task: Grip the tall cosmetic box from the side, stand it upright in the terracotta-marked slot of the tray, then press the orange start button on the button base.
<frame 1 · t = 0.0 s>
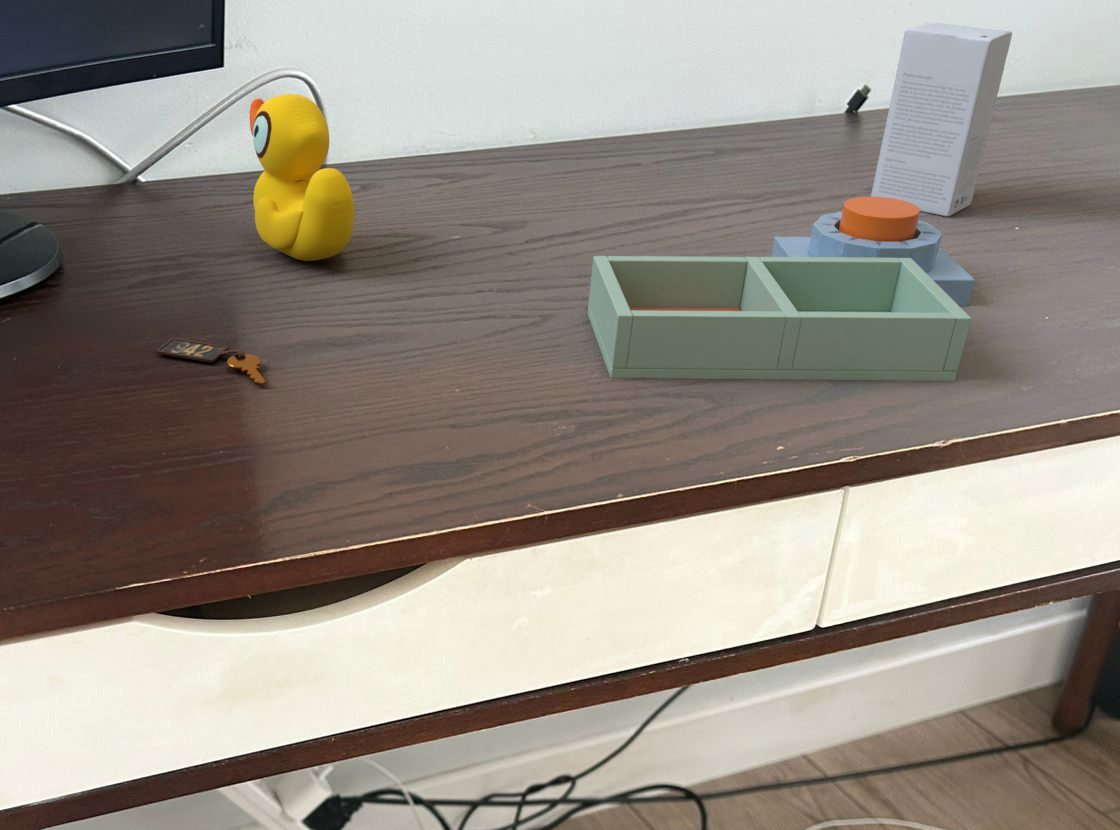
duckling: (299, 256, 91), on the table
start button: (878, 220, 84), point 4 cm above the table, slide at 0.1 cm
key tag: (211, 366, 76), on the table
button base: (865, 283, 86), on the table
cosmetic box: (918, 206, 100), on the table
tray: (760, 346, 78), on the table
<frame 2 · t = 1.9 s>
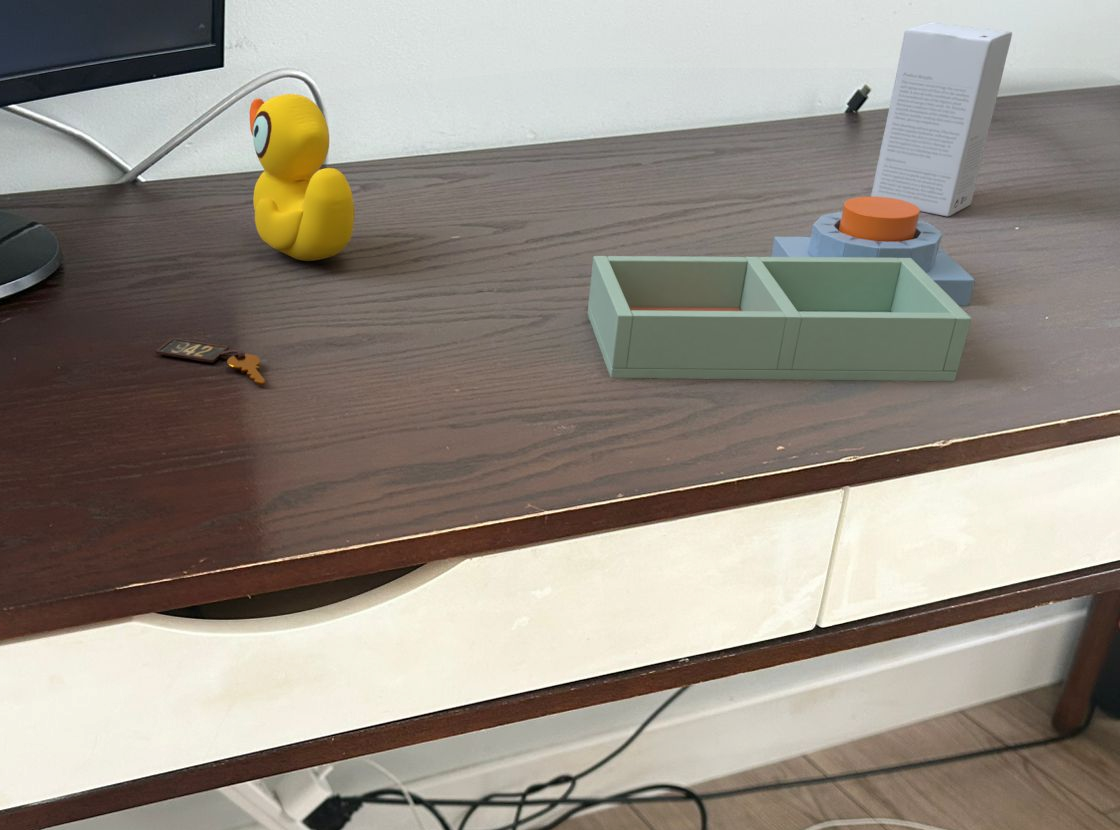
nothing on the table moved.
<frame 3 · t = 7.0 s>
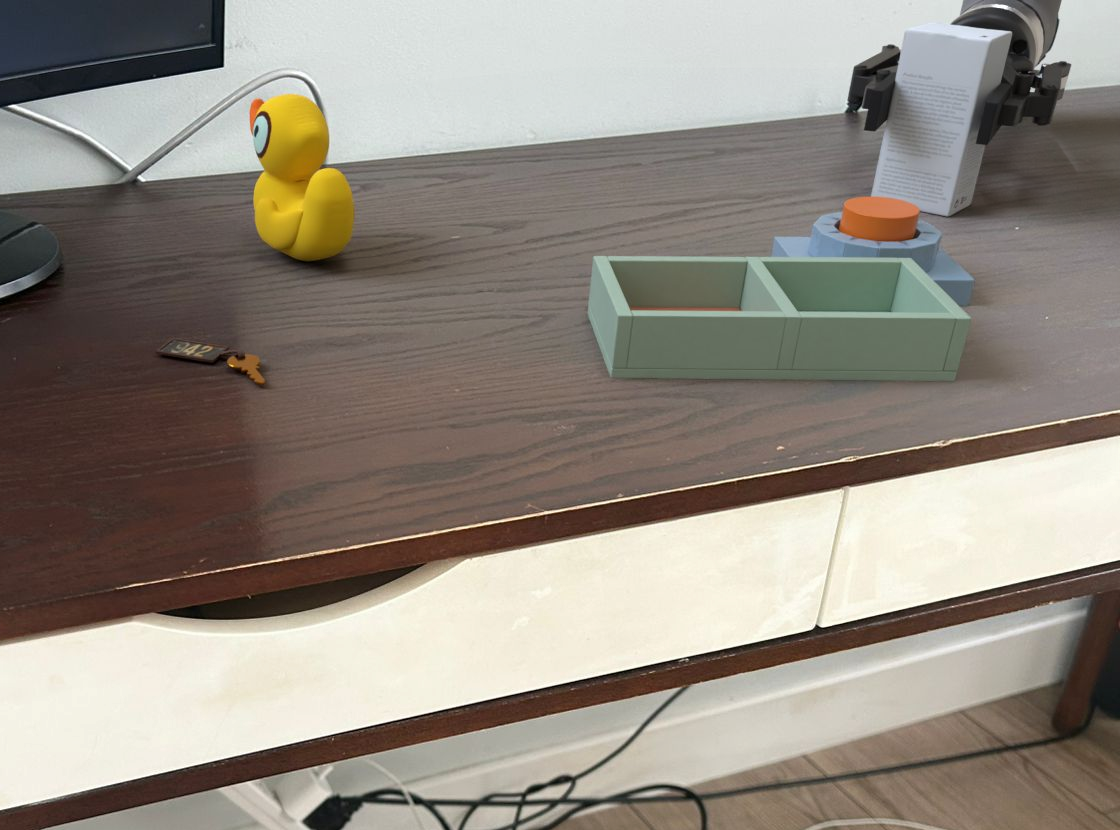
hand: (929, 117, 93), 7 cm above the table, tool horizontal, fingers closed on cosmetic box, 7 cm apart
cosmetic box: (918, 206, 100), on the table, touching gripper
everything else where it was.
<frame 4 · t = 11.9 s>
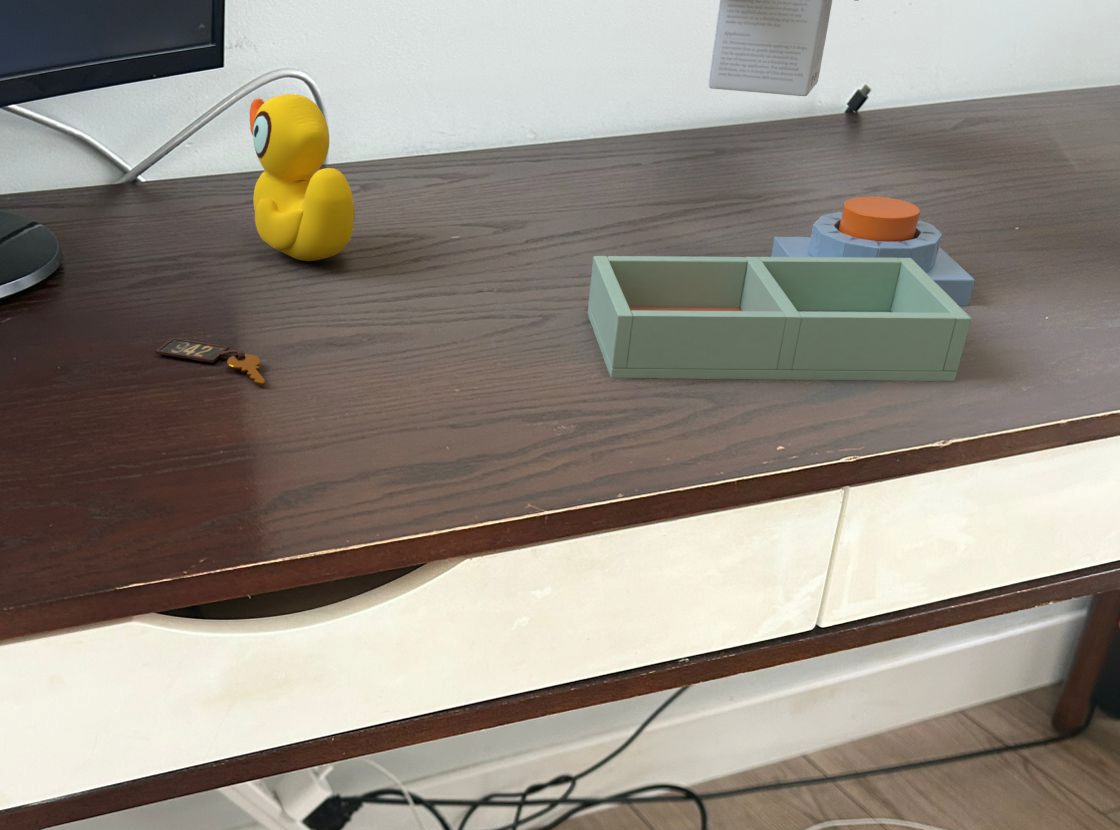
cosmetic box: (761, 90, 84), point 11 cm above the table, touching gripper
everything else where it was.
when the fingers open (8 cm above the table, at t = 16.8 s): cosmetic box stays where it is, resting on tray.
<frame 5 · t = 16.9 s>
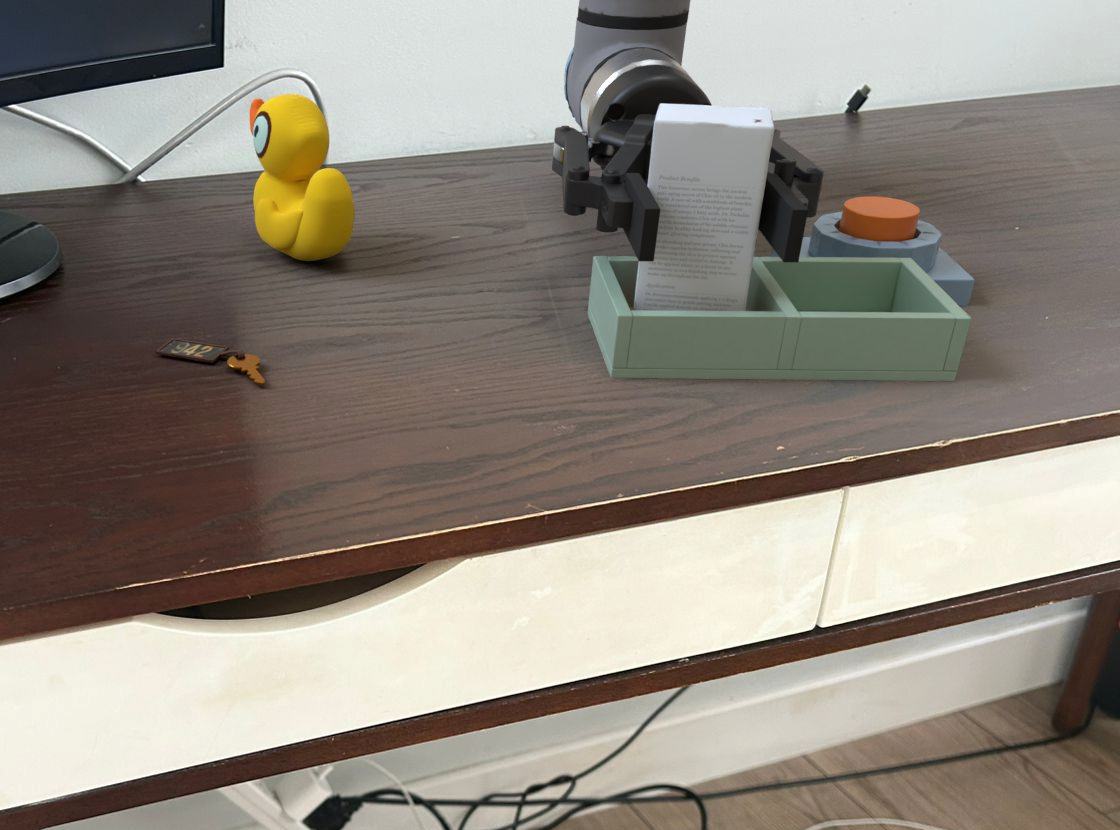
hand: (722, 235, 69), 8 cm above the table, tool horizontal, fingers open, 7 cm apart
cosmetic box: (683, 334, 77), point 1 cm above the table, touching tray
everything else where it was.
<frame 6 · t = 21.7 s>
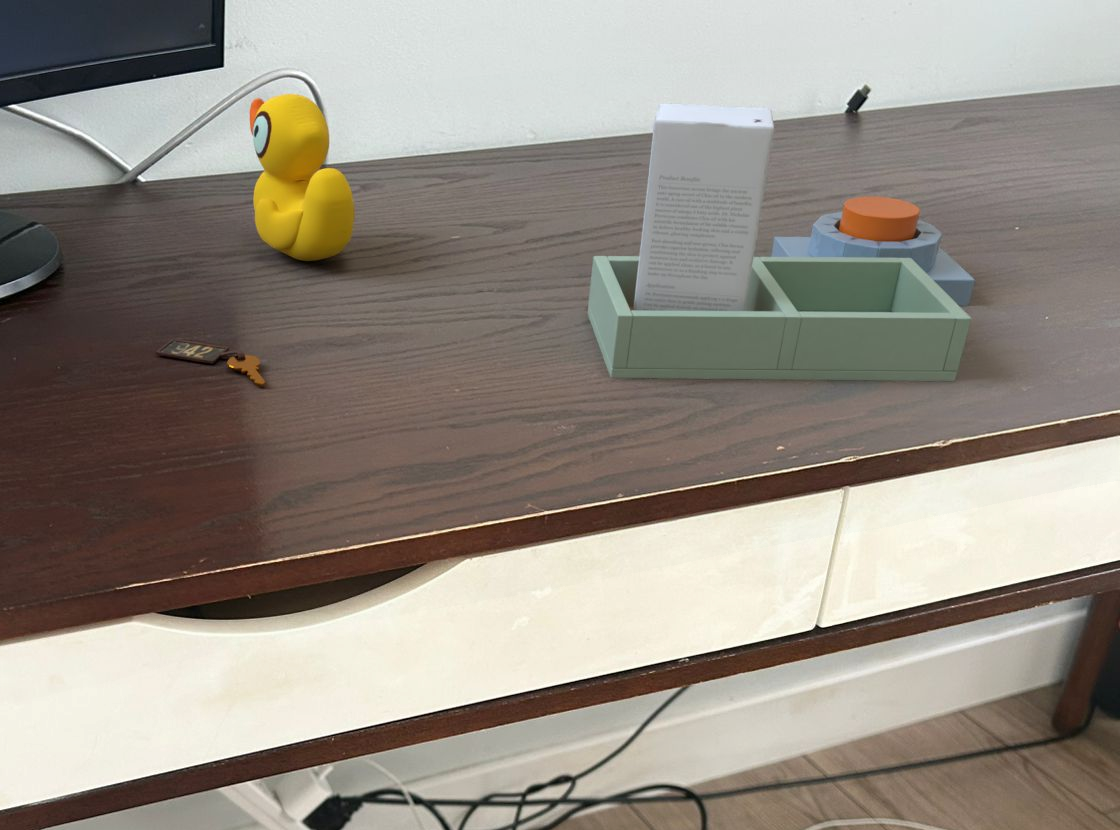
nothing on the table moved.
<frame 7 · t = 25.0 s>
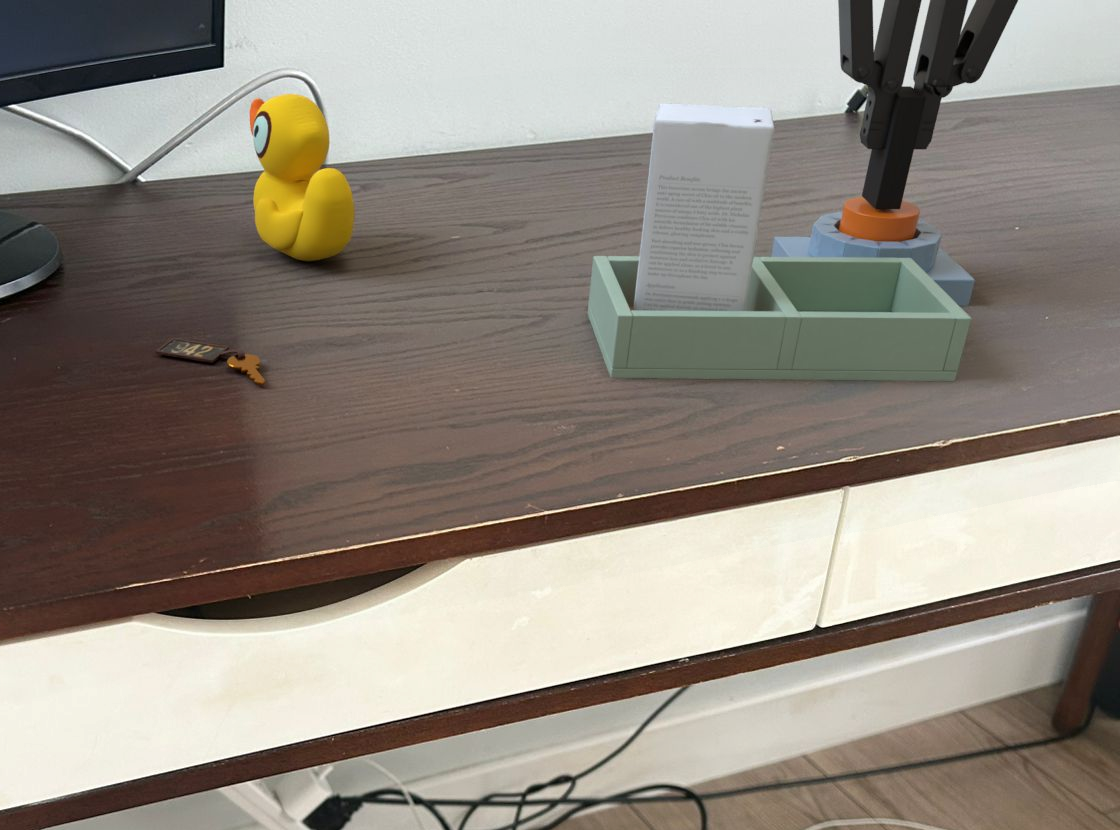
hand: (880, 202, 83), 5 cm above the table, tool pointing down, fingers closed
start button: (878, 220, 84), point 4 cm above the table, slide at 0.1 cm, touching gripper
everything else where it was.
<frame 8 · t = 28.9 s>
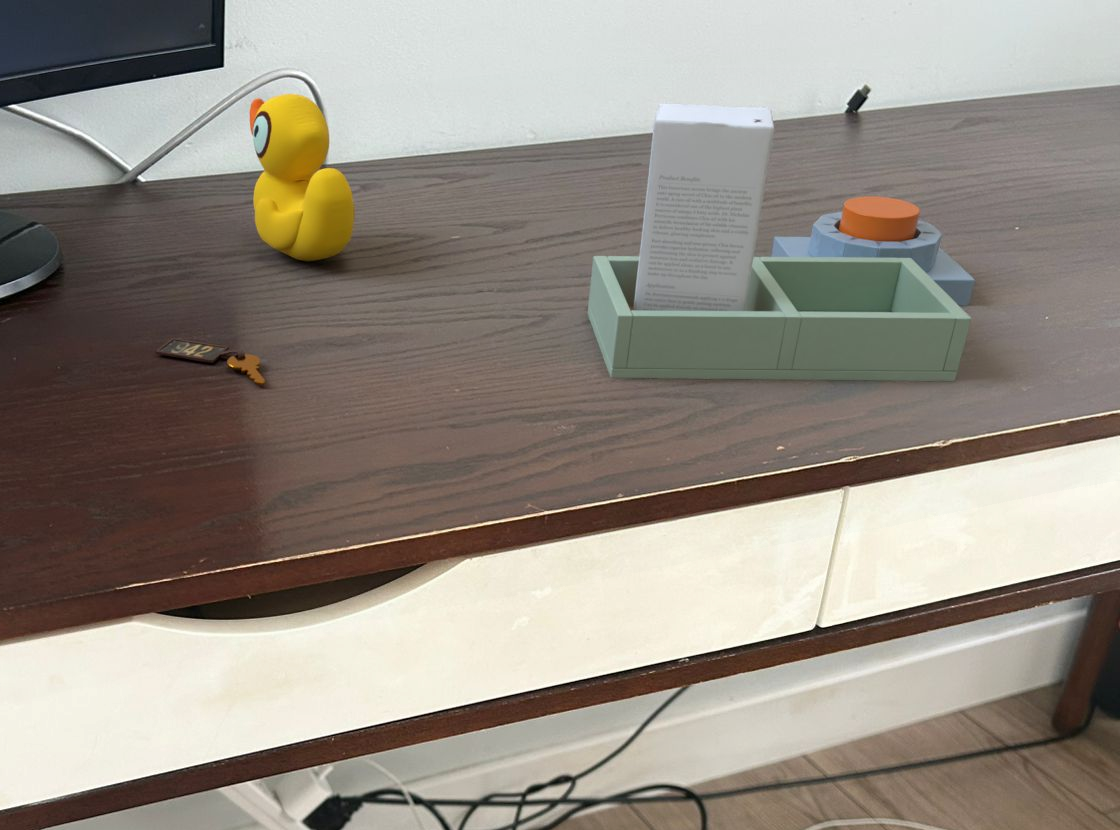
start button: (878, 220, 84), point 4 cm above the table, slide at 0.1 cm
everything else where it was.
at the end: cosmetic box 0.1 cm from the target spot in the tray, point 0.6 cm above the tray's base; cosmetic box tilted 0°; start button pushed in 1.0 cm at the most during the clip, back to where it started at the end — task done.
